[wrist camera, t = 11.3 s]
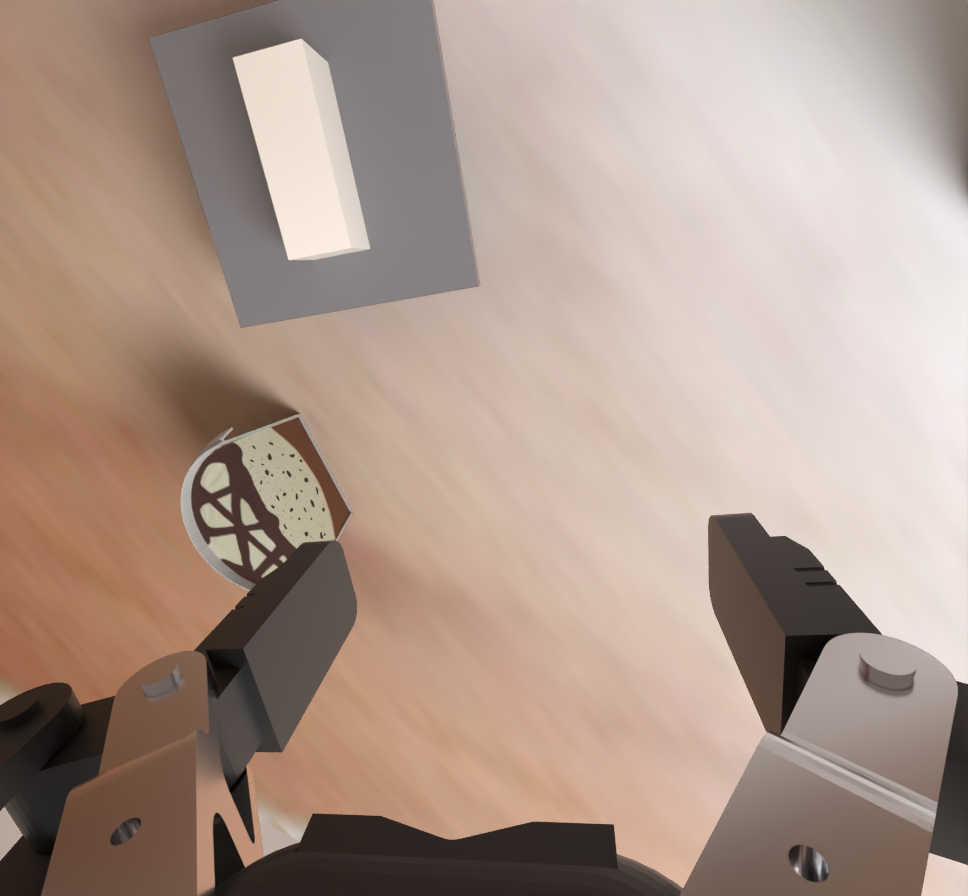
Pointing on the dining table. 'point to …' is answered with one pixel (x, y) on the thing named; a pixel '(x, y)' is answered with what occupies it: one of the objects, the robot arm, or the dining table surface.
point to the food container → (261, 500)
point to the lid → (322, 154)
